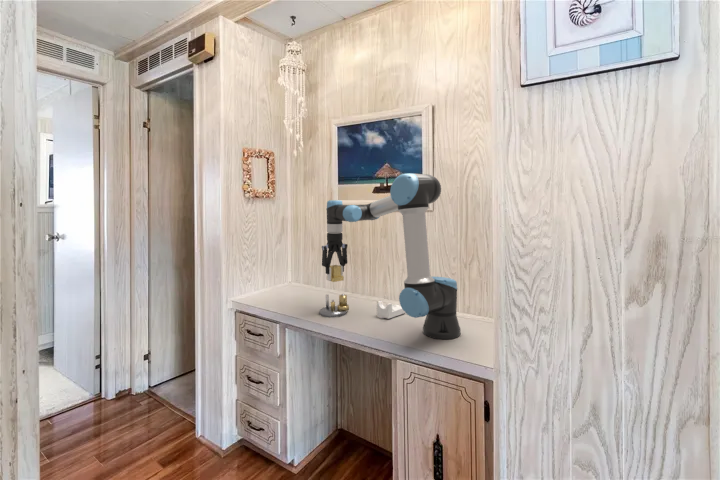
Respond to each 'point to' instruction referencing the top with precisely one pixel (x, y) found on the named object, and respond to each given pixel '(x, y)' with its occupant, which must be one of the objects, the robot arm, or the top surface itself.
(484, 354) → the top surface
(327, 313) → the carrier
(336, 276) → the brass square sleeve
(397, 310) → the bracket
